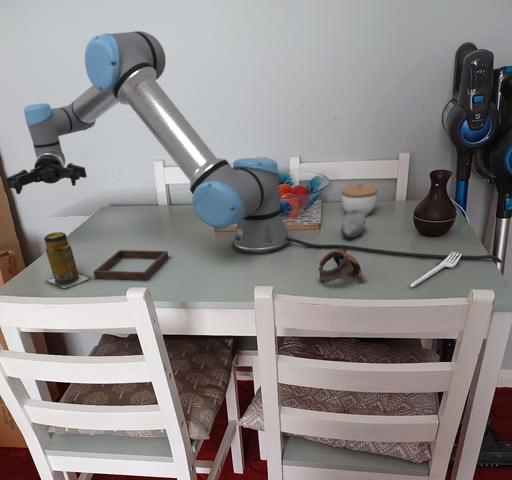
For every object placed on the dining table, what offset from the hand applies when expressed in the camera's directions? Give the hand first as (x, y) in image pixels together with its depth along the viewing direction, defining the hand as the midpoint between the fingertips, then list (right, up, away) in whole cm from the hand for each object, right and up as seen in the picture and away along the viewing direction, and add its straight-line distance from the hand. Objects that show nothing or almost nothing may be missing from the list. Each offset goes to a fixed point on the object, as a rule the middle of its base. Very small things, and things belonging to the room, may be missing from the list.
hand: (44, 184), depth 132 cm
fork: (+95, -24, -10) cm, 99 cm away
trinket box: (+85, 0, +31) cm, 91 cm away
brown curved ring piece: (+73, -25, -8) cm, 78 cm away
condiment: (+5, -24, +4) cm, 25 cm away
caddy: (+21, -20, +7) cm, 30 cm away
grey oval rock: (+81, -10, +16) cm, 83 cm away
